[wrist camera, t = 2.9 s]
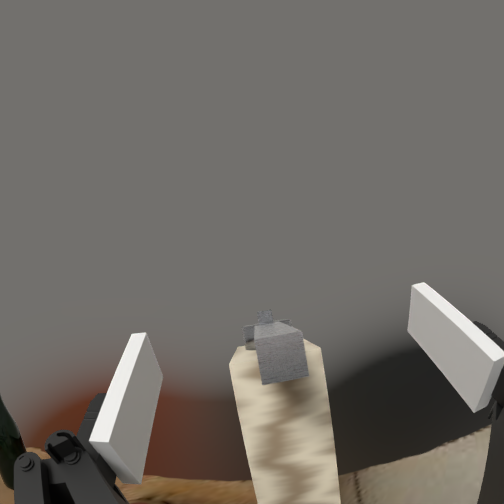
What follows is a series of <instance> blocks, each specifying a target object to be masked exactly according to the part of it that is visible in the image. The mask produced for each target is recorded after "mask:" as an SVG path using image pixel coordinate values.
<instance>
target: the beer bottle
mask: <svg viewBox="0 0 504 504" xmlns="http://www.w3.org/2000/svg"><path fill="white" fill-rule="evenodd" d="M26 452H27V451H26V448H25V446H24V443H23V440H22V437H21V434H20V432H19V429H18V426H17V424H16V422H15V420H14V419H13V417H12V416H11V414H10V412H9V411H8V409H7V407H6V406H5V404H4V402H3V400H2V397H1V395H0V475H1V477H2V479H3V482H4V484H5V485H6V486H7V487H8V488H11V489H14V464H15V461H16V460H17V458H18V457H19V456H20V455H22V454H24V453H26Z"/></svg>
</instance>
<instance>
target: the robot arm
mask: <svg viewBox="0 0 504 504" xmlns="http://www.w3.org/2000/svg"><path fill="white" fill-rule="evenodd" d="M408 332H409V333H410V334H411V336H412V337H413V338H414V339H415V340H416V341H417V343H418V344H419V345H420V346H421V347H422V349H423V350H424V351H425V352H426V353H427V355H428V356H429V357H430V358H431V359H432V361H433V362H434V363H435V364H436V365H437V367H438V368H439V369H440V370H441V371H442V373H443V374H444V375H445V376H446V378H447V379H448V380H449V381H450V383H451V384H452V385H453V387H454V388H455V389H456V390H457V391H458V393H459V394H460V395H461V397H462V398H463V399H464V401H465V402H466V403H467V404H468V406H469V407H470V408H471V410H472V411H473V412H476V411H478V410H480V409H482V408H484V407H486V406H487V405H488V402H489V400H490V398H491V396H493V397H494V399H495V400H496V401H495V403H494V405H493V407H492V409H491V412H490V413H489V416H488V419H490V417H491V415H492V414H493V417H492V427H491V435H490V443H489V449H488V456H487V462H486V467H485V472H484V477H483V482H482V486H481V491H480V495H479V499H478V503H477V504H504V342H503V341H502V340H501V339H500V338H499V337H497V335H496V334H494V333H492V331H491V330H490V329H488V327H486V326H485V325H483V324H481V323H479V322H477V321H475V322H471V321H470V320H469V319H467V318H466V317H465V316H464V315H463V314H462V313H460V312H459V311H458V310H457V309H456V308H455V307H454V306H452V305H451V304H450V303H449V302H448V301H446V300H445V299H444V298H443V297H441V296H440V295H439V294H438V293H437V292H435V291H434V290H433V289H432V288H430V287H429V286H428V285H427V284H426V283H424V282H423V283H419V284H415V285H412V291H411V303H410V313H409V323H408ZM162 379H163V375H162V372H161V370H160V367H159V365H158V362H157V360H156V357H155V355H154V352H153V349H152V347H151V344H150V341H149V339H148V335H147V333H137V334H132V335H131V337H130V340H129V342H128V344H127V346H126V349H125V351H124V354H123V356H122V358H121V360H120V363H119V365H118V367H117V370H116V373H115V375H114V377H113V380H112V382H111V385H110V387H109V389H108V392H107V393H100V394H97V395H96V396H95V398H94V399H93V400H92V401H91V402H90V404H89V407H88V409H87V412H86V414H85V416H84V420H83V421H82V423H81V426H80V429H79V431H78V433H77V436H75V435H74V434H73V432H71V431H69V430H59V431H56V432H54V433H53V434H51V435H50V436H49V438H48V439H47V440H46V443H45V451H46V452H47V453H48V454H49V455H50V457H51V459H44V460H41V459H40V458H39V456H38V455H37V454H36V453H33V452H26V453H24V454H22V455H20V456H19V457H18V458H17V460H16V461H15V464H14V500H15V504H129V502H128V501H127V500H126V498H125V497H124V495H123V494H122V492H121V491H120V490H119V488H118V487H117V486H116V485H115V480H116V476H117V477H118V478H119V479H120V480H121V481H122V483H128V484H141V482H142V476H143V471H144V465H145V460H146V454H147V450H148V444H149V440H150V435H151V429H152V425H153V420H154V415H155V411H156V406H157V401H158V397H159V392H160V388H161V383H162Z"/></svg>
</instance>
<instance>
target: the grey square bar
mask: <svg viewBox="0 0 504 504" xmlns="http://www.w3.org/2000/svg"><path fill="white" fill-rule="evenodd" d="M257 314H258V319H259V323H258V324H253V325H248V326H244V327H242V331H243V337H244V343H245V349H246V350H256V353H257V359H258V364H259V370H260V375H261V381H262V385H267V384H273V383H278V382H284V381H289V380H294V379H299V378H304V377H309V371H308V365H307V359H306V353H305V347H304V341H303V335H302V331H301V330H298V329H296V328H293V327H292V325H291V319H282V320H275V321H273V317H272V312H271V310H267V311H262V312H257Z"/></svg>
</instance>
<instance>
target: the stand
mask: <svg viewBox="0 0 504 504" xmlns="http://www.w3.org/2000/svg"><path fill="white" fill-rule="evenodd" d="M303 341H304V347H305V353H306V359H307V365H308V371H309V377H304V378H299V379H294V380H289V381H284V382H278V383H273V384H267V385H262V381H261V375H260V370H259V364H258V359H257V353H256V350H246V349H245V346H241V347H238V348H237V350H236V352H235V354H234V356H233V358H232V360H231V362H230V364H229V367H230V373H231V378H232V383H233V389H234V393H235V399H236V404H237V409H238V414H239V418H240V424H241V429H242V434H243V438H244V443H245V448H246V453H247V457H248V462H249V466H250V471H251V475H252V480H253V484H254V489H255V493H256V497H257V501H258V504H341V501H340V491H339V481H338V471H337V462H336V454H335V446H334V437H333V429H332V422H331V414H330V407H329V400H328V393H327V386H326V379H325V373H324V366H323V360H322V354H321V348H320V347H318V346H316V345H314V344H312V343H310V342H308V341H307V340H305V339H303Z"/></svg>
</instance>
